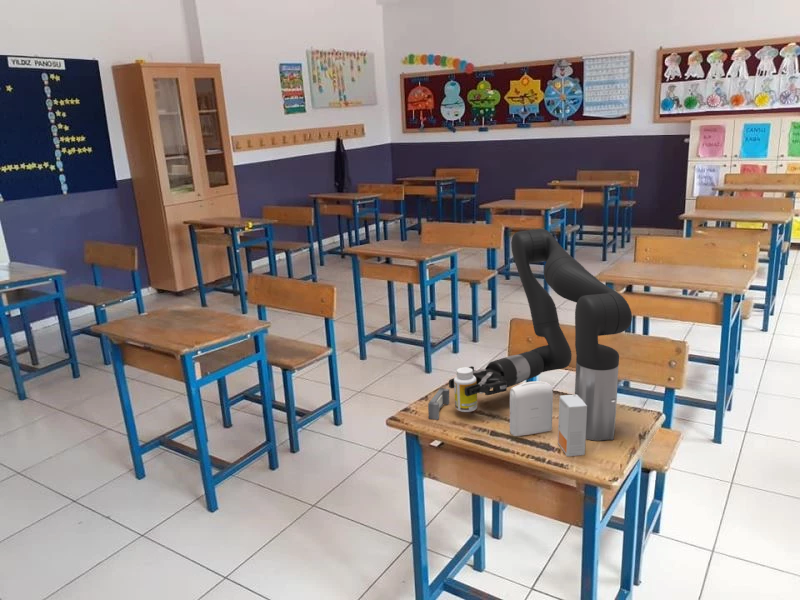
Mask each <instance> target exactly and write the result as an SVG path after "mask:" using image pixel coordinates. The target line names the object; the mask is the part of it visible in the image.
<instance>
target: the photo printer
mask: <svg viewBox="0 0 800 600" xmlns="http://www.w3.org/2000/svg"><path fill="white" fill-rule="evenodd" d="M553 396H554V394H553V387H552V385H551V384H550V383H549V382H546V381H540V380H539V381H528V382H527V381H526V382H524V383H523V382H521V383H519V384H516V385H514V386H512V387H511V388H510V391H509V433H510V434H511V435H512V436H514V437H521V436H527V435H529V436H530V435H535V434H540V433H546V432H550V431H552V429H553V408H554V407H553V403H554V402H553V401H554V397H553Z"/></svg>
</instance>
